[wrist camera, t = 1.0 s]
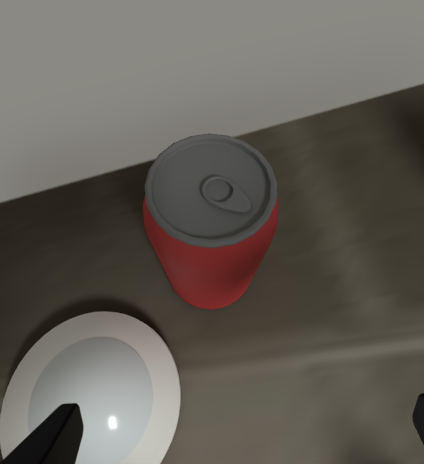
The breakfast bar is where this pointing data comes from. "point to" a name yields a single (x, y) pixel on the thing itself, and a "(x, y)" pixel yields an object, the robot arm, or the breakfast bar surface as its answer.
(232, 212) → the beer can
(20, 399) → the dish
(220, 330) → the breakfast bar surface
